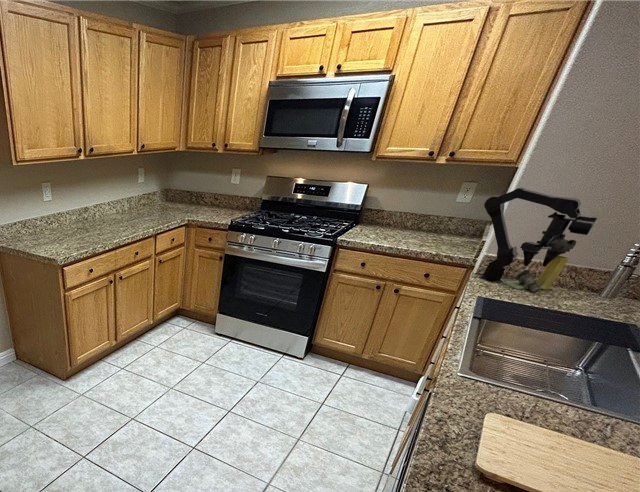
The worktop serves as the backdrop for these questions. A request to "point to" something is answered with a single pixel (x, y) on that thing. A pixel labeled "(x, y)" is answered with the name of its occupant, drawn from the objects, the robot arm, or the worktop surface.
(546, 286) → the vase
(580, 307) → the worktop surface
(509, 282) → the mat
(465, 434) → the worktop surface
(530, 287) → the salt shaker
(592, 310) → the worktop surface
